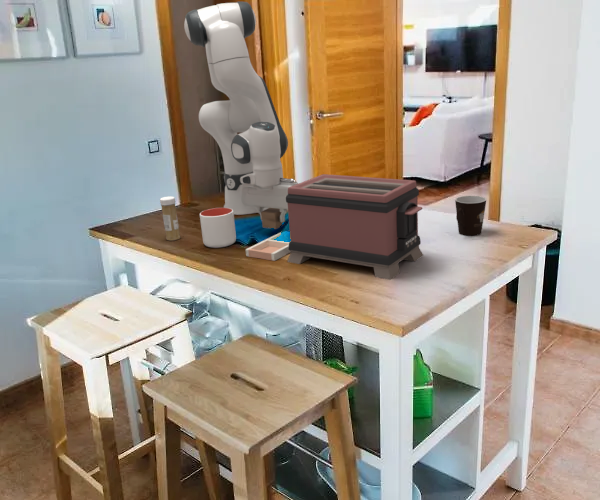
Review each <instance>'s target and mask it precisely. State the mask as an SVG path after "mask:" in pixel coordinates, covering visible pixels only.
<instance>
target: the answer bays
mask: <svg viewBox="0 0 600 500" xmlns="http://www.w3.org/2000/svg"><path fill="white" fill-rule="evenodd" d="M281 232H282V231H281ZM281 232H278V233H277V234H274V235H272V236H270V237H268V238H265V239H264V240H262V241H259V242H258V243H256V244H254V245H252V246H249V247H247V248H245V255H246V257H250V258H256V259H262V260H267V261H277V260H279V259H281V258H283V257H285V256H286V255H288V254H291V251H289V242H284V241H277V240H274V239H276V238H277V237H279V236H280V235H281Z"/></svg>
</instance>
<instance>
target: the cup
mask: <svg viewBox="0 0 600 500" xmlns="http://www.w3.org/2000/svg"><path fill="white" fill-rule="evenodd" d="M199 218H200V219H199V222H200V227H201V235H202V242H203V244H204V246H206V247H208V248H214V249H219V248H225V247H228V246H232V245H233V244H234V243H236V240H237V234H236V224H235V214H233V210H232V209H230V208H224V207H215V208H213V207H212V208H209V209H205V210H202V211H201V212H200V213H199Z"/></svg>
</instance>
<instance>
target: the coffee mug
mask: <svg viewBox="0 0 600 500" xmlns="http://www.w3.org/2000/svg"><path fill="white" fill-rule="evenodd" d="M454 201H455V202H454V203H455V211H456V218H455V219H456V222H457V231H458V234H459V235H461V236H465V237H475V236H476V237H477V236H479V235H481V234H482V230H483V225H484V219H485V211H486V203H487V198H486V197H484V196H481V195H464V196H463V195H462V196H457V197H456V198H455V199H454Z"/></svg>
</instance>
